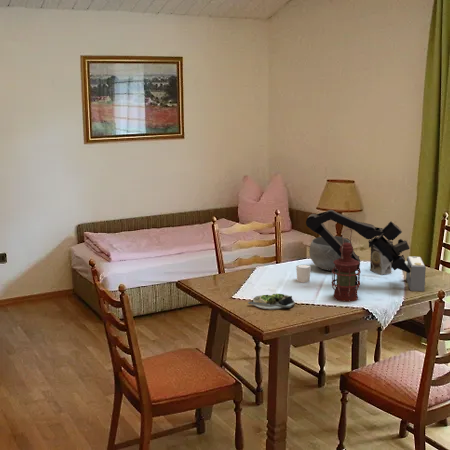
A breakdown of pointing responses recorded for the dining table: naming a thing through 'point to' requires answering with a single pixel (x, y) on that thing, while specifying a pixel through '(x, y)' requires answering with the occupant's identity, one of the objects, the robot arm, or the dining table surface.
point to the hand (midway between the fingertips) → (409, 272)
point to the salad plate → (273, 301)
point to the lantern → (346, 274)
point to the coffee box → (379, 261)
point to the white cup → (303, 273)
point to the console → (416, 274)
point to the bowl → (324, 253)
